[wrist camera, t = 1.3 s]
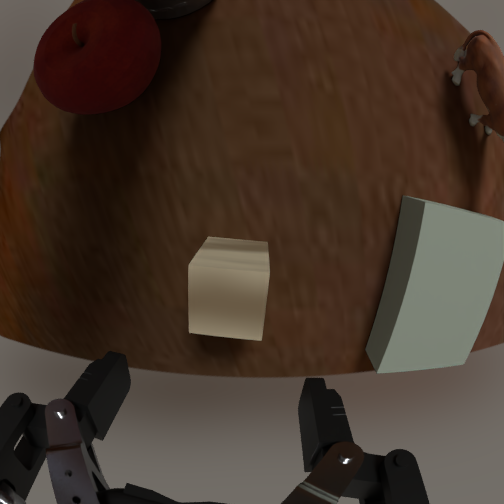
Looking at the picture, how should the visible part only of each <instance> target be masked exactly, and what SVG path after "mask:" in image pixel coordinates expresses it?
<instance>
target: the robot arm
mask: <svg viewBox="0 0 504 504" xmlns="http://www.w3.org/2000/svg"><path fill="white" fill-rule="evenodd" d="M135 1H137V2H139V3H141V4H142V5H143V6H144V7H145V8H146V9H147V10H148V11H149V12H150V13H151V14H152V16H153V18H154V19H170V18H176V17H180V16H183V15H186V14H189V13H192V12H194V11H196V10H198V9H200V8H202V7H203V6H205V5H206V4H208V3H209V2H210V1H211V0H135ZM130 384H131V379H130V374H129V369H128V364H127V359H126V356H125V355H124V354H121V353H116V352H112V351H108V352H107V354H106V355H105V356H104V358H103V359H102V360H101V359H97V360H96V361H94V362H92V363H91V364H89V366H88V367H87V368H86V370H85V371H84V373H83V374H82V375H81V376H80V378H79V379H78V380H77V382H76V383H75V384H74V386H73V387H72V388H71V390H70V391H69V392H68V394H67V395H66V396H65V398H64V399H55V400H52V401H51V402H49V403H48V405H42V404H35V403H32V402H31V401H30V399H29V397H28V396H27V395H26V394H24V393H14V394H12V395H10V396H9V397H8V398H7V399H6V401H5V402H4V403H3V404H2V406H1V407H0V504H26V502H25V500H26V498H27V496H28V494H29V491H30V489H31V487H32V485H33V483H34V481H35V479H36V476H37V474H38V472H39V470H40V468H41V466H42V464H43V462H44V460H45V458H47V463H48V468H49V473H50V478H51V482H52V486H53V490H54V494H55V498H56V501H57V504H225V503H216V502H190V503H181V502H176V501H174V500H172V499H170V498H168V497H165V496H163V495H161V494H159V493H157V492H155V491H153V490H149V489H146V488H142V487H138V486H135V485H132V484H129V483H127V484H126V486H125V489H124V488H114V489H110V488H109V486H108V484H107V483H106V481H105V479H104V476H103V474H102V471H101V468H100V465H99V463H98V460H97V457H96V454H95V450H94V447H93V444H92V441H93V439H94V438H97V439H100V440H103V439H104V437H105V436H106V434H107V431H108V430H109V428H110V426H111V424H112V422H113V420H114V418H115V416H116V414H117V412H118V410H119V408H120V407H121V405H122V403H123V401H124V399H125V397H126V395H127V393H128V392H129V389H130ZM298 415H299V424H300V432H301V442H302V451H303V460H304V471H305V472H311V473H310V474H309V476H308V477H307V478H306V479H305V480H304V481H303V482H302V483H300V484H299V485H298V486H297V487H296V488H295V489H294V490H293V491H292V492H291V493H290V494H289V496H288V497H287V498H286V499H285V500H284V501H283V502H282V503H281V504H337V502H338V500H339V498H340V497H341V496H343V497H351V498H357V499H359V503H360V504H429V500H428V497H427V494H426V490H425V486H424V483H423V480H422V477H421V473H420V470H419V467H418V464H417V461H416V458H415V457H414V455H413V454H412V453H410V452H409V451H407V450H403V449H396V450H393V451H391V452H389V453H388V454H387V455H386V456H381V455H374V454H368V453H365V452H363V450H362V449H361V448H360V447H359V446H358V445H356V444H355V443H354V441H353V438H352V434H351V431H350V427H349V424H348V420H347V416H346V413H345V409H344V405H343V402H342V399H341V396H340V395H339V394H338V393H337V392H336V391H335V390H334V389H326V385H325V381H324V379H323V378H306V379H305V382H304V386H303V390H302V394H301V397H300V401H299V406H298ZM22 434H23V437H22V438H21V440H20V442H19V443H18V445H17V447H16V449H15V450H14V446H15V445H16V443H17V441H18V440H19V438H20V436H21V435H22Z"/></svg>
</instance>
